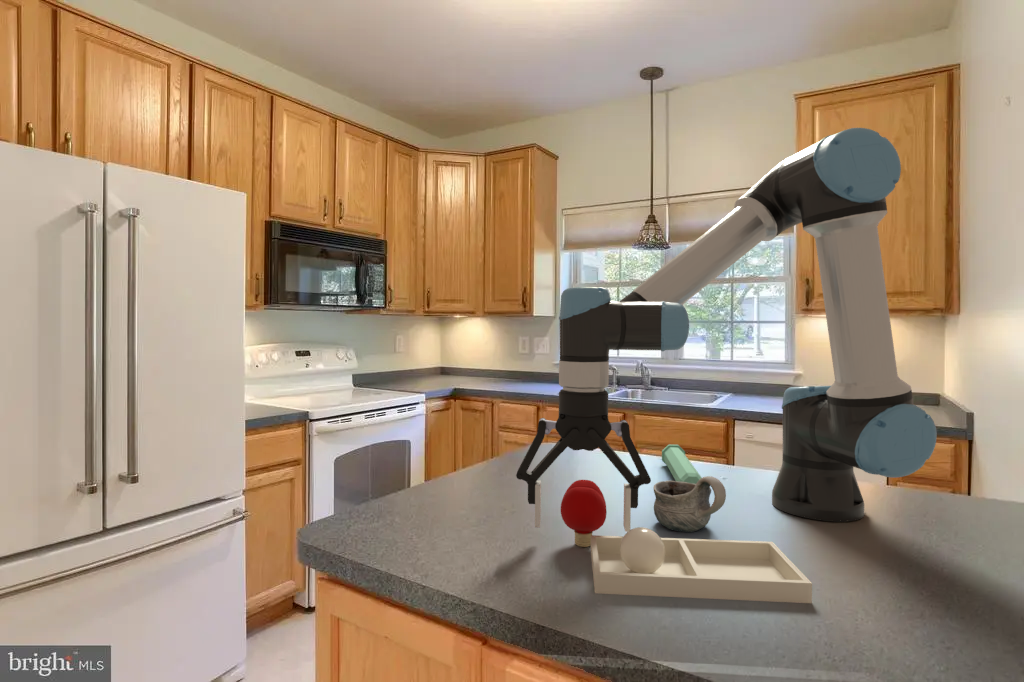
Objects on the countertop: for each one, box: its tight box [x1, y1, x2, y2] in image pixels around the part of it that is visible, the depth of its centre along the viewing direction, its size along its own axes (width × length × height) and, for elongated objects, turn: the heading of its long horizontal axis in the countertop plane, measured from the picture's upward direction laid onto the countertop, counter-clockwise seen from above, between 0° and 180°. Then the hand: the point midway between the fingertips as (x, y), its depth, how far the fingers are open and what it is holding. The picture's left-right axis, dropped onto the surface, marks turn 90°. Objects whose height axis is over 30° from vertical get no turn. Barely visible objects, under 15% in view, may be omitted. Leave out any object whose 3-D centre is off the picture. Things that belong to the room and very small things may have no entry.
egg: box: [620, 526, 665, 574], centre depth 75 cm, size 6×6×6 cm
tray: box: [590, 534, 813, 604], centre depth 74 cm, size 26×13×3 cm, turn 84°
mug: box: [652, 475, 727, 533], centre depth 92 cm, size 10×12×10 cm
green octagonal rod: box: [661, 444, 703, 484], centre depth 123 cm, size 6×6×25 cm
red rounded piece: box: [560, 479, 607, 548], centre depth 85 cm, size 9×7×10 cm
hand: (581, 526), depth 85 cm, fingers open, 13 cm apart
